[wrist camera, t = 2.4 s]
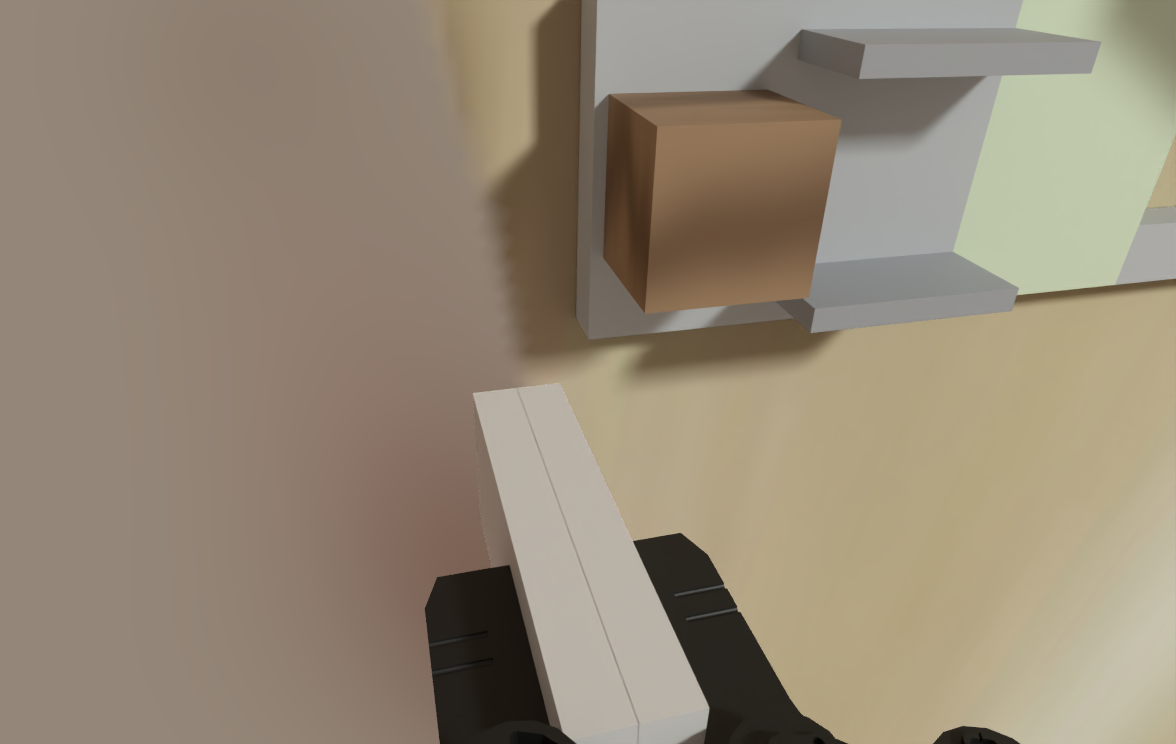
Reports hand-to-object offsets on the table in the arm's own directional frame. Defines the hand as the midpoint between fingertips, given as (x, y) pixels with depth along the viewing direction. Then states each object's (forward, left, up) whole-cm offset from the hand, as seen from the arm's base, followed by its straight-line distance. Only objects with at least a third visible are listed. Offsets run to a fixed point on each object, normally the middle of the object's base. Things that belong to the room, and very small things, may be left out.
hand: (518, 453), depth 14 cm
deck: (0, +23, -18) cm, 29 cm away
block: (0, +9, -16) cm, 18 cm away
